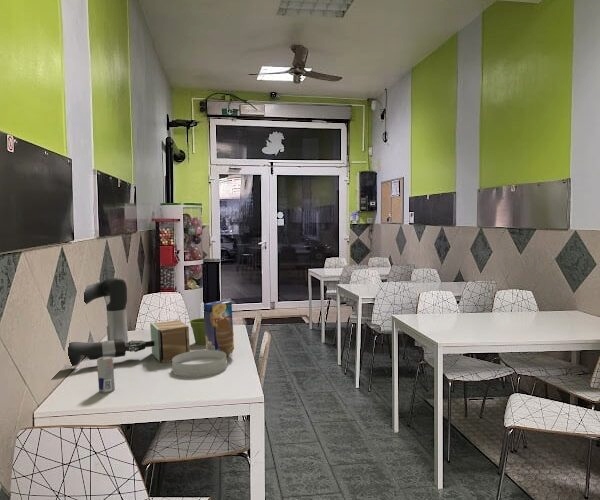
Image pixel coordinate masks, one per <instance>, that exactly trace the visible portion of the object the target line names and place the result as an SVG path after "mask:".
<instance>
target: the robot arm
mask: <svg viewBox="0 0 600 500" xmlns="http://www.w3.org/2000/svg"><path fill="white" fill-rule="evenodd" d="M86 286H87V287H86V289H85V292H84V302H85V303H86V305H88V304H89V303H91V302H92V301H94V300H96V299H99V298H104V297H109V302H108V303H107V304H106V318H107V319H106V322H107V323H106V324H107V326H106V334H107V335H106V336H107V337H106V338H107V340H106V341H100V342H92V343H91V342H90V343H89V342H81V341H73V342H72V341H71V342H70V343H69V347H68V356H69V359H70V362H71V364H72V366H71V367H75V366H77V365H79V364H80V362H81V359H82V356H87V358H88V360H89V361H92V360H93V361H97V360H98V358H100V357H104V356H111V357H112V358H113V359H115V358H120V357H125V356H126V352H130V353H133V352H134V353H136V352H139V351H143V350H145V349H146V348H150V347H151V348H152V346H154V341H151V340H148V341H144V340H130V341H129V336H128V334H129V333H128V320H127V304H128V288H127V287H128V286H127V283H126V281H125V280H124V279H122V278H118V277H108V278H106V279H103V280H101V281H98V282H96V283H93V284H90V285H86Z"/></svg>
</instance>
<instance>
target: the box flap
mask: <svg viewBox="0 0 600 500" xmlns="http://www.w3.org/2000/svg"><path fill="white" fill-rule="evenodd" d="M154 323H155V322H150V323H149V324H150V341H154V346H152V347H151V353H152V355H153V356H154V357H155V358H156V359H157V361H158V362H159V363H163V362H162V353H161V336H160V329H159V328H158V327H157V326H156V325H155V324H154Z"/></svg>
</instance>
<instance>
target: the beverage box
mask: <svg viewBox="0 0 600 500" xmlns="http://www.w3.org/2000/svg"><path fill="white" fill-rule="evenodd" d="M232 305H233V304H232V301H227V300H219V301H213V302H208V303H203V314H204V316H203V318H204V319H205V338H206V343H205V350H218V351H220V349H219V347H218V343H217V338H216V327H217V322H218V320H219V319H220V318H222V316H223V315H224V316H225V317H226V318H228V319H229V320H230V323H231V326H232V327H233V328H234V324H233V323H234V322H233V306H232ZM234 343H235V341H234V339H233V343H232V348H231V349H230V350H234V349H235V345H234Z"/></svg>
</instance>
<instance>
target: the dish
mask: <svg viewBox="0 0 600 500" xmlns="http://www.w3.org/2000/svg"><path fill="white" fill-rule="evenodd" d="M171 362H172V365H171V369H172V373H173V374H174V375H175V376H180V377H189V378H190V377H193V378H194V377H203V376H210V375H214V374H218V373H221V372H222V371H224V370H226V369H227V368H228V360H227V356H226V353H225V352H222V351H218V350H206V349H202V350H201V349H200V350H190V352H186V353H182V354H179V355H177V356H175V357H173V359H172V361H171Z"/></svg>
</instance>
